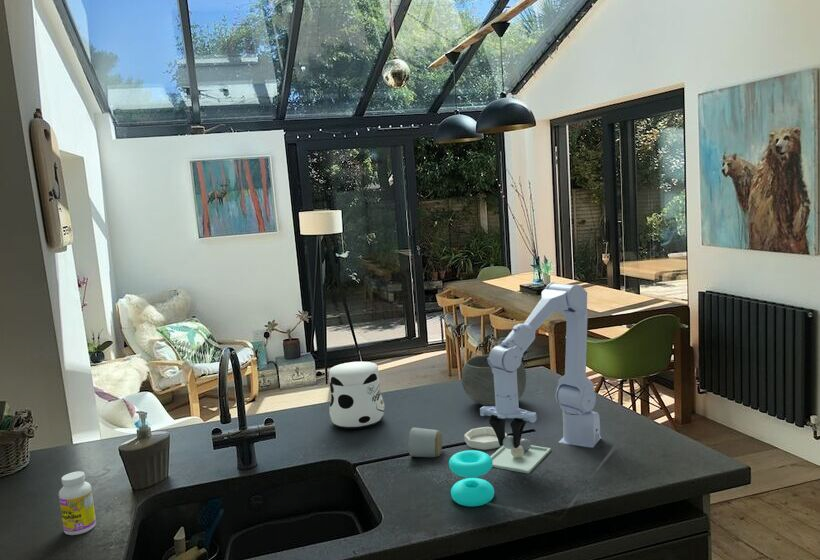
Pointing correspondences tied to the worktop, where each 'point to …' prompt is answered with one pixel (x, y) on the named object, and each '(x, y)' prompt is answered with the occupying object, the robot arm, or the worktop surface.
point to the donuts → (471, 488)
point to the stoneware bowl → (482, 438)
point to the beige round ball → (517, 452)
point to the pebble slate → (525, 444)
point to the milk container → (355, 395)
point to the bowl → (485, 380)
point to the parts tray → (519, 459)
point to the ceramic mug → (424, 442)
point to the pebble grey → (508, 442)
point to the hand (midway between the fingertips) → (509, 445)
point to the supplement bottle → (76, 504)
